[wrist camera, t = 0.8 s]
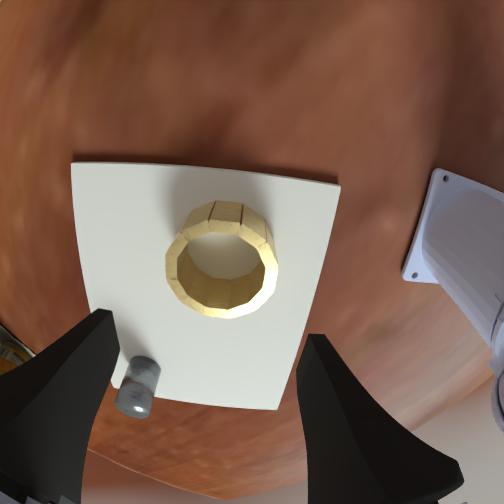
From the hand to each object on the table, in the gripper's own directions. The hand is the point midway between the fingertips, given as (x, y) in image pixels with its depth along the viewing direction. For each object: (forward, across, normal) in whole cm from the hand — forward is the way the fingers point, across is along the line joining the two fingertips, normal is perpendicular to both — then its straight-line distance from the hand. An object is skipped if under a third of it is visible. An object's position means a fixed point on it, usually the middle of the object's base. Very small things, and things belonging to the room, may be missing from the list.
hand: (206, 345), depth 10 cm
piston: (+8, +6, +12) cm, 16 cm away
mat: (+8, +2, +6) cm, 11 cm away
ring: (+8, 0, 0) cm, 8 cm away
